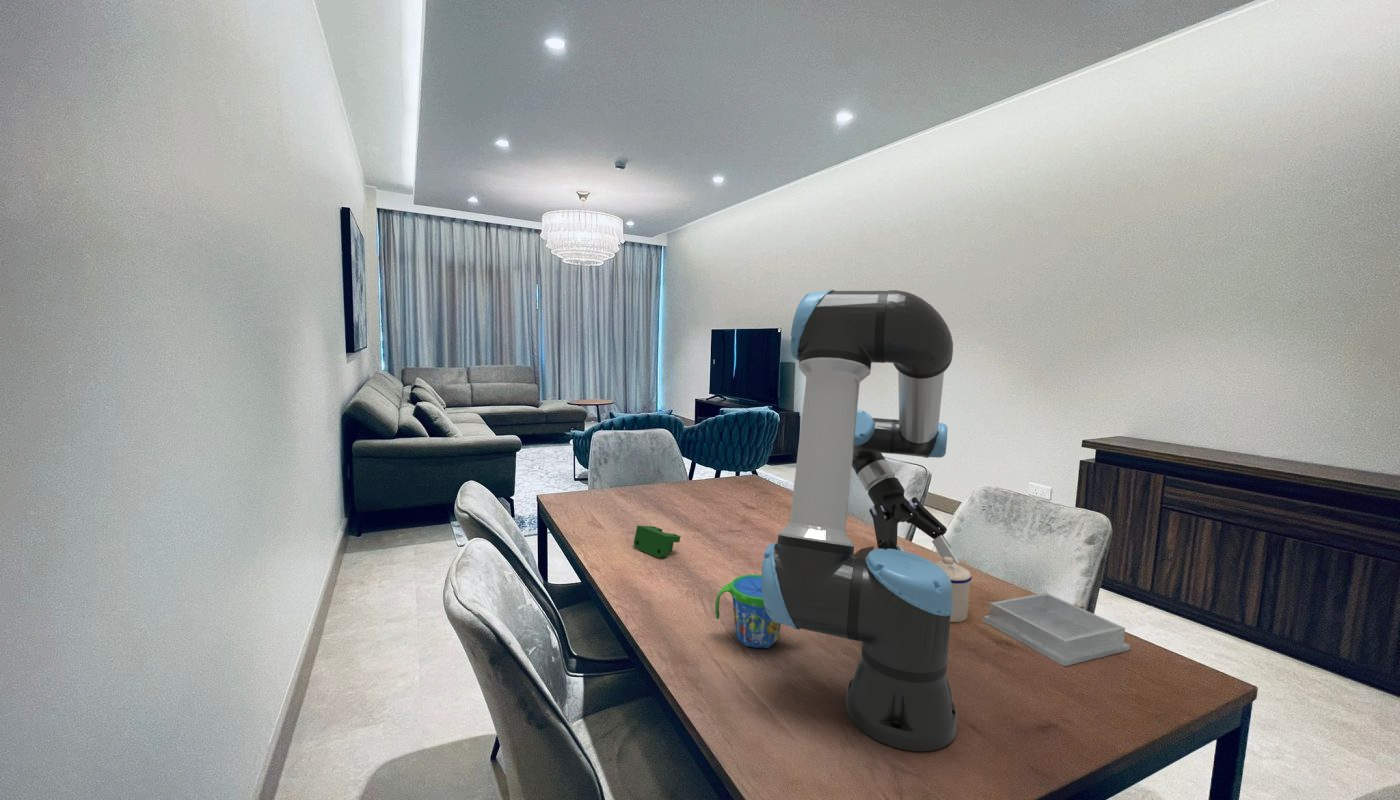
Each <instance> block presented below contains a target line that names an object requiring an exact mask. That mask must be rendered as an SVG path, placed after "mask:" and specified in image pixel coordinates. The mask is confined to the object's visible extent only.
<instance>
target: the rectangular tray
mask: <svg viewBox="0 0 1400 800" xmlns="http://www.w3.org/2000/svg"><path fill="white" fill-rule="evenodd" d="M988 610H989V611H988V615H983V616H982V622H983V623H986V624H988V625H990V626H991V627H993V628H995V629H996V630H998V631H1000V632H1002V633H1004V634H1005V635H1007V636H1009V637H1011V638H1012V639H1015V640H1016V641H1018V642H1020V643H1021V644H1023V645H1025V646H1027V647H1029V648H1031V649H1033V650H1034V651H1036V652H1037V653H1039V654H1041V655H1043V656H1045V657H1047V658H1048V659H1050V660H1052V661H1054V662H1056V663H1058V664H1059V665H1061V666H1062V667H1068V666H1071V665H1075V664H1081V663H1085V662H1088V661H1092V660H1095V659H1101V658H1103V657H1108V656H1112V655H1116V654H1121V653H1124V652H1128V651H1130V650H1131V649H1130V648H1131V645H1130V644H1129V643H1127V642H1125V633H1126V627H1124V626H1121V625H1119V624H1117V623H1115V622H1112V621H1110V620H1109V619H1105V618H1103V617H1101V616H1100V615H1097V614H1096V613H1092V612H1090V611H1089V610H1085V609H1083V608H1081V607H1079V606H1076V605H1074V604H1073V603H1070V602H1069V601H1066V600H1063V599H1061V598H1059V597H1058V596H1057V597H1056V596H1055V595H1052V594H1050V593H1048V592H1042V593H1038V594H1031V595H1025V596H1021V597H1019V596H1018V597H1014V598H1008V599H1004V600H998V601H993V602H990V603H989V609H988Z"/></svg>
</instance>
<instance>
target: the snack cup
mask: <svg viewBox="0 0 1400 800" xmlns="http://www.w3.org/2000/svg"><path fill="white" fill-rule="evenodd" d="M726 592H728V593H730V595H731V597H732V608H733V617H734V618H733V619H734V626H735V636H736V639H737V640H738V641H739V642H740V643H742V644H743V645H744V646H745V647H751V648H757V649H759V648H760V649H761V648H766V649H769V648H770V647H771V646H772V645H774V644H775V643H776V642H777V641H778V638H779V635H780V630H781V625H782V624H780V623H777V622H775V621H773V620H772V619H771V618H770V617H769V616H768V614H767V612H766V609H765V606H764V602H763V595H762V574H745V575H740V576H736V577H735V578H734V579H732V581H731V582H729V583H727V584H725V585H724V586H722V587H721V589H720V590H718V593H717V596H716V600H715V606H714V609H715V610H714V613H715V618H716V620H719V619H720V597H721V595H724V593H726Z"/></svg>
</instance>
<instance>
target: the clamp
mask: <svg viewBox="0 0 1400 800" xmlns="http://www.w3.org/2000/svg"><path fill="white" fill-rule="evenodd" d="M636 526H637V527H636V530H635V535H634V541H633V546H634V548H635V549H637V550H640V551H642V552H644V553H646V554H649V555H652V556H654V557H655V558H657V559H658V558H665V559H666V558H667V557H668V555H669V553H672V552H673V547H674V543H680V541H681V535H678V534H676V533H669V532H664V531H663V529H662V528H660V527H657V526H651V525H649V526H648V525H636Z"/></svg>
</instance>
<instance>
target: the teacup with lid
mask: <svg viewBox="0 0 1400 800" xmlns="http://www.w3.org/2000/svg"><path fill="white" fill-rule="evenodd" d="M932 562H933V563H934V564H936V565H937V566H939V567H940V568H941V569H942V570H944V571H945V573H946V574H947V575H948V577H949V578H950V580H951V584H952V605H953V612H952V614H951V615H950V623H959V622H960V623H961V622H963V621H965V620H966V619H967V618H968V614H969V612H968V611H969V598H970V586H971V580H972V579H973V578H972V577H973V576H972V574H971V572H970V571H969V570H968V569H967V568H966V567H964V566H961V565H959V563H958V564H956V563H954V562H953V559H952V558H951V557H943V559H940V560H937V561H932Z"/></svg>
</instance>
